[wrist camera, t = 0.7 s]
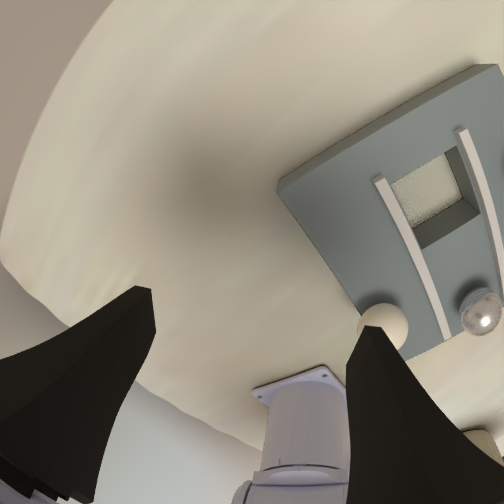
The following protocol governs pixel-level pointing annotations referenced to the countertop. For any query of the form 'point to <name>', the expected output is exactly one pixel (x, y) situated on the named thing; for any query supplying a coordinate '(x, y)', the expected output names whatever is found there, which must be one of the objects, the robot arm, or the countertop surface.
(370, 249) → the grey board with rails
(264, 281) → the countertop surface
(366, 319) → the cream ball
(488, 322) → the steel ball
